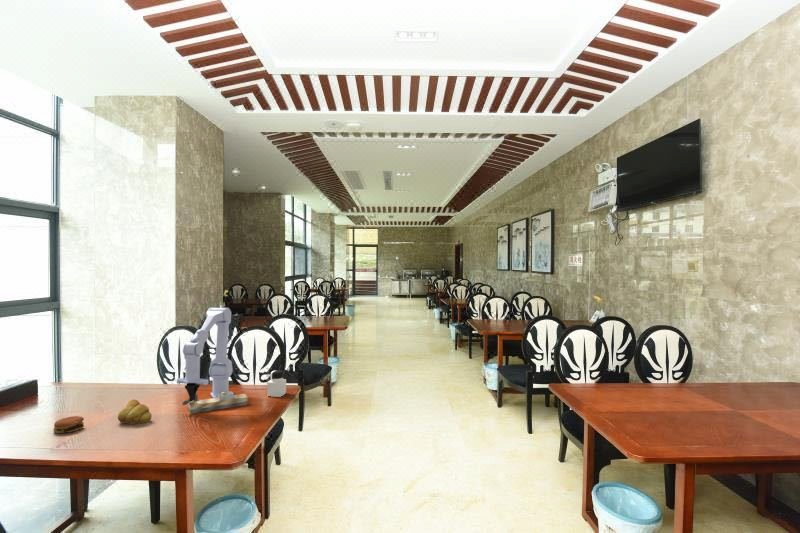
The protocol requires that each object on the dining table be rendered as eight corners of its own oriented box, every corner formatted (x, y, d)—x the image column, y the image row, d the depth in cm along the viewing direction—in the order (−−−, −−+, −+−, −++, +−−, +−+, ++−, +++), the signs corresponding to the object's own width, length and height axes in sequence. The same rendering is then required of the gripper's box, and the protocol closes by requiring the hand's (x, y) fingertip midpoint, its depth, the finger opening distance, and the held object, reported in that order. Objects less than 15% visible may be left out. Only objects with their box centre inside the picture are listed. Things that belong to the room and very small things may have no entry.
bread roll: (157, 419, 176) (157, 400, 176) (136, 428, 166) (136, 407, 166) (134, 416, 180) (134, 397, 180) (112, 424, 170) (112, 404, 170)
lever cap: (217, 397, 194) (217, 391, 194) (231, 395, 197) (231, 389, 197) (219, 400, 190) (219, 394, 190) (233, 398, 193) (233, 392, 193)
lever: (194, 405, 192) (194, 394, 192) (198, 405, 192) (198, 394, 192) (181, 413, 182) (181, 401, 182) (185, 413, 181) (185, 401, 182)
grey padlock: (286, 393, 215) (286, 369, 215) (281, 397, 208) (281, 372, 208) (272, 392, 215) (272, 369, 216) (267, 396, 208) (267, 372, 208)
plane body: (190, 413, 183) (190, 405, 183) (188, 409, 189) (188, 401, 189) (247, 404, 196) (247, 397, 196) (244, 400, 201) (244, 393, 202)
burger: (50, 430, 163) (50, 418, 164) (79, 424, 171) (80, 412, 171) (57, 436, 157) (57, 424, 157) (87, 429, 164) (87, 417, 165)
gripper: (171, 370, 185) (171, 401, 184) (201, 372, 182) (200, 403, 181) (183, 367, 191) (182, 397, 191) (211, 368, 188) (211, 399, 188)
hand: (192, 400), depth 186 cm, fingers closed, pressing on lever
